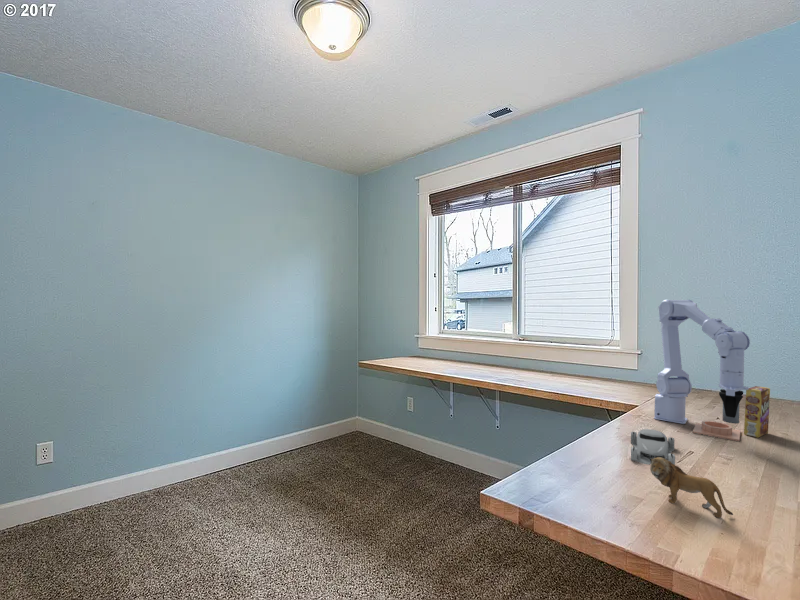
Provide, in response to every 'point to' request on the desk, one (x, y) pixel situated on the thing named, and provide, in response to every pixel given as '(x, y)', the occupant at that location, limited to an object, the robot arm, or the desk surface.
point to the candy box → (757, 411)
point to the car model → (651, 446)
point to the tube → (731, 419)
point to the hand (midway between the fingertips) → (730, 415)
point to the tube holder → (717, 430)
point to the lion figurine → (686, 484)
